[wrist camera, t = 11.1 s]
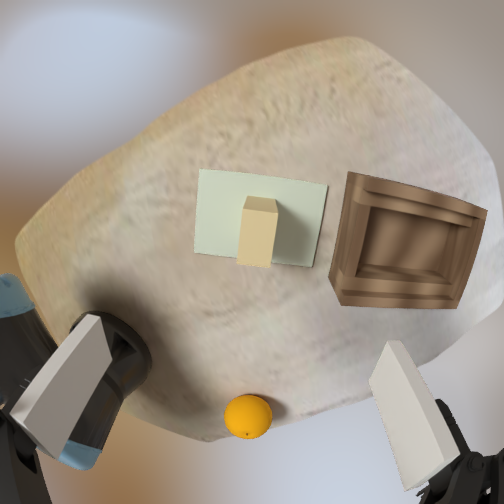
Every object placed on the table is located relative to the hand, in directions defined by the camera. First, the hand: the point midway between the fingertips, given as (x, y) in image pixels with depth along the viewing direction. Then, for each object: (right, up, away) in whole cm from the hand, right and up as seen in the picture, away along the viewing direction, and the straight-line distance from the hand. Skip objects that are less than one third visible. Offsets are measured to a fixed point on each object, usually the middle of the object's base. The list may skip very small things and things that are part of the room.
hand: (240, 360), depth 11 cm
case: (+19, +7, +19) cm, 28 cm away
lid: (+1, +9, +20) cm, 21 cm away
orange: (0, -21, +31) cm, 38 cm away
